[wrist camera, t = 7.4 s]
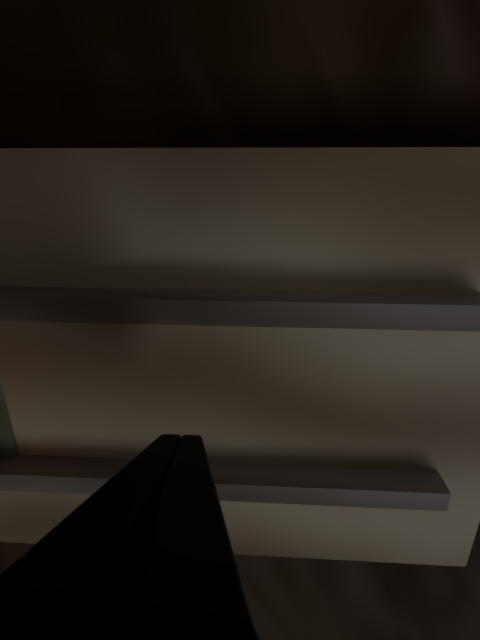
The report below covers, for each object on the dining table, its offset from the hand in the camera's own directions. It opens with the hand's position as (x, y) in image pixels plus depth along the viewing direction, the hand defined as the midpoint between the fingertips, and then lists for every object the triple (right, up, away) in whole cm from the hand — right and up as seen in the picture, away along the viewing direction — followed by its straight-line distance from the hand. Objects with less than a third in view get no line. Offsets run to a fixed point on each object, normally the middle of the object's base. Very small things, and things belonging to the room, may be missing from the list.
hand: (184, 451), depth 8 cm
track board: (-2, +1, +4) cm, 4 cm away
